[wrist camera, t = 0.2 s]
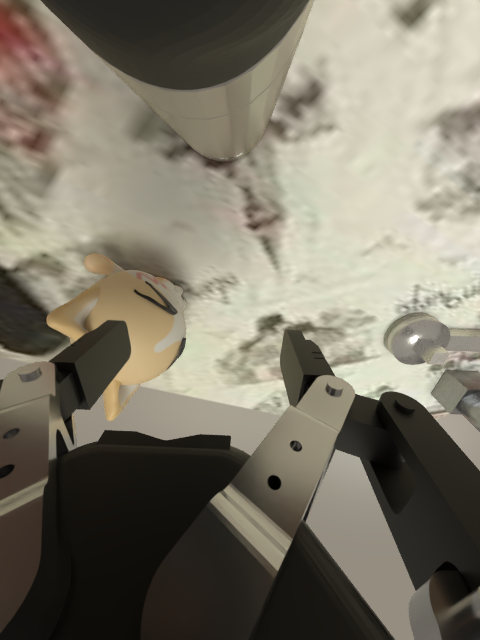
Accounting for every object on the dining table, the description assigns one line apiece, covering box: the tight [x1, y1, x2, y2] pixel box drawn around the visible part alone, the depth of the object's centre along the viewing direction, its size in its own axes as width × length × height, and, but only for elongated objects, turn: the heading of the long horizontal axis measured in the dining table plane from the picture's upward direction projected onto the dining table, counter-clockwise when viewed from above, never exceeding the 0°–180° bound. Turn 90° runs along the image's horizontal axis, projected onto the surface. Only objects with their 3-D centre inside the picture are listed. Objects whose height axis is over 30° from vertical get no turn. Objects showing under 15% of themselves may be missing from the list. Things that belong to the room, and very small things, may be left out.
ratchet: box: [384, 313, 480, 365], centre depth 30 cm, size 7×22×6 cm, turn 88°
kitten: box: [47, 253, 186, 421], centre depth 23 cm, size 15×10×15 cm
